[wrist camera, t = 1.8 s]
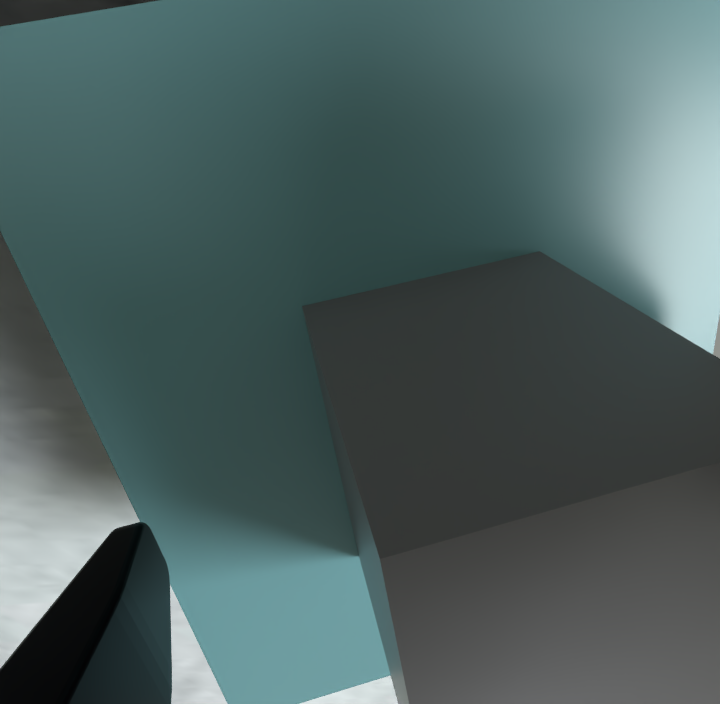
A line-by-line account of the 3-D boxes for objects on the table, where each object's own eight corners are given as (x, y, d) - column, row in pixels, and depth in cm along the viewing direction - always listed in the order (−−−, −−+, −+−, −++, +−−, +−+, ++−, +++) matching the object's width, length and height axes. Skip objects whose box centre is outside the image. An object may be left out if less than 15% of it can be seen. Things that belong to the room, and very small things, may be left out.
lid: (618, 524, 14) (873, 824, 9) (235, 636, 13) (241, 1062, 8) (674, -70, 8) (1616, -353, 3) (-16, 47, 7) (-868, -13, 2)
